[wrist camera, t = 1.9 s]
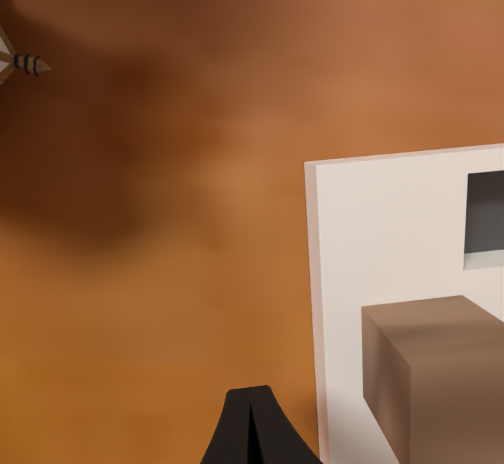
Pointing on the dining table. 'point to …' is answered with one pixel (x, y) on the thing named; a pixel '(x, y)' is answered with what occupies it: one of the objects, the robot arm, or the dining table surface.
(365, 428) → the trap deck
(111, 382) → the dining table surface
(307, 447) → the robot arm
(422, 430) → the walnut block
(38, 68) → the game die
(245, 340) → the dining table surface
